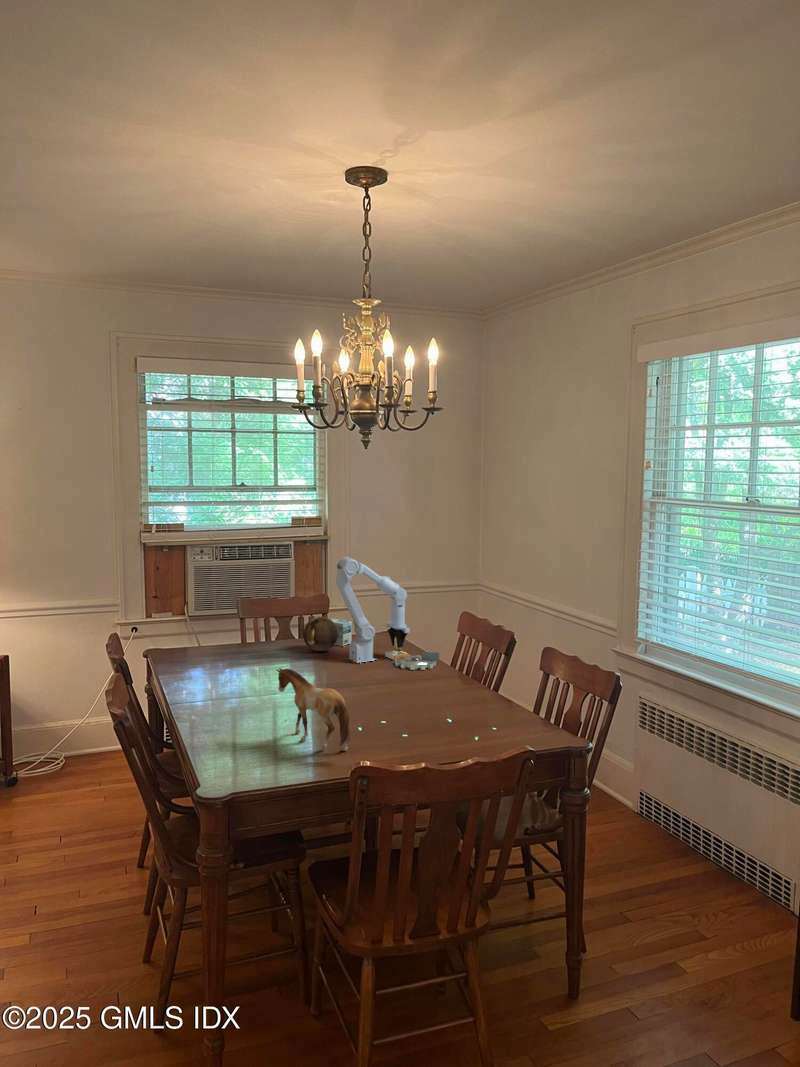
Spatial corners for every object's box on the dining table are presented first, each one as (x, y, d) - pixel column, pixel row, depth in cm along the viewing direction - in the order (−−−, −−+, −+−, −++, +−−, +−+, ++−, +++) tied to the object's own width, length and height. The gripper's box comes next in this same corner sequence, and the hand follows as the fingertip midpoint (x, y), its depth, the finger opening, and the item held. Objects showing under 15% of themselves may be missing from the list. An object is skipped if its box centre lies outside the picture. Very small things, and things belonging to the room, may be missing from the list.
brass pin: (396, 651, 318) (397, 637, 318) (392, 650, 321) (392, 636, 321) (402, 650, 320) (403, 636, 320) (398, 649, 323) (399, 635, 322)
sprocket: (441, 669, 303) (441, 658, 302) (397, 670, 301) (397, 658, 301) (435, 659, 319) (435, 647, 319) (393, 659, 317) (393, 648, 317)
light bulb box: (352, 644, 343) (352, 621, 342) (343, 647, 338) (343, 623, 337) (333, 641, 349) (333, 618, 348) (324, 643, 343) (324, 620, 342)
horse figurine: (274, 734, 228) (274, 667, 226) (294, 728, 234) (294, 662, 232) (344, 763, 207) (345, 690, 205) (364, 756, 213) (365, 684, 211)
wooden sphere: (325, 645, 341) (325, 612, 339) (344, 652, 329) (345, 618, 328) (296, 649, 331) (296, 616, 330) (315, 657, 320) (315, 622, 318)
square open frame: (394, 660, 316) (395, 655, 316) (385, 657, 322) (385, 652, 321) (408, 658, 320) (408, 653, 320) (399, 655, 326) (399, 650, 326)
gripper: (415, 616, 316) (415, 649, 317) (395, 611, 327) (395, 641, 329) (401, 618, 311) (401, 651, 313) (382, 612, 323) (381, 643, 325)
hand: (397, 646), depth 320 cm, fingers closed on brass pin, 3 cm apart
